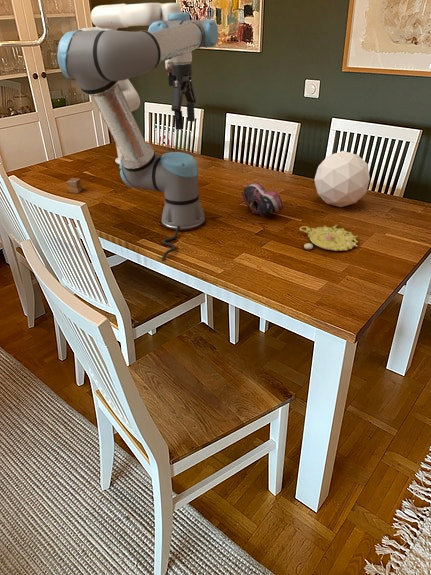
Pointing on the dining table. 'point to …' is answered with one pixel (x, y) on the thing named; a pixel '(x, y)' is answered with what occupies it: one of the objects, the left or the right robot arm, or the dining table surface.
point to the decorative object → (330, 238)
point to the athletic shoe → (261, 200)
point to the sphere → (342, 179)
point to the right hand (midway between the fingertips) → (185, 125)
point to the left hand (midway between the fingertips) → (176, 84)
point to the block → (74, 185)
